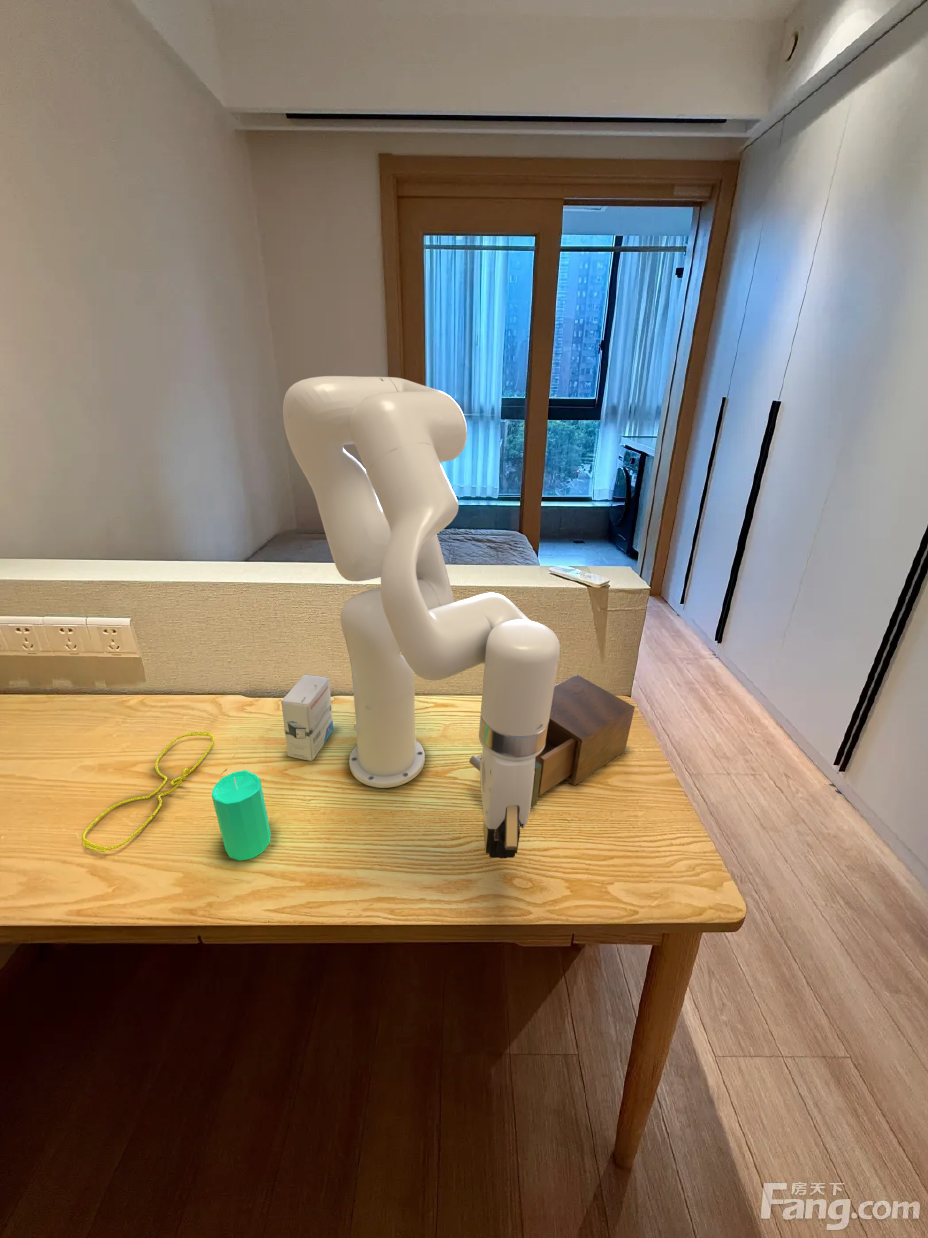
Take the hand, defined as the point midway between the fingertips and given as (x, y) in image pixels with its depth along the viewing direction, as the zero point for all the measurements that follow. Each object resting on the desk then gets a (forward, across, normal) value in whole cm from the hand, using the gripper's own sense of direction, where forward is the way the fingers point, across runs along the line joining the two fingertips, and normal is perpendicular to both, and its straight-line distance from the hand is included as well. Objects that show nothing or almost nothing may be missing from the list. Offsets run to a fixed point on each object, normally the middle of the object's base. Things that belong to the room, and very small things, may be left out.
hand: (499, 838), depth 66 cm
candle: (+8, -6, -34) cm, 36 cm away
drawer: (+6, -17, +6) cm, 20 cm away
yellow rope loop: (+8, -16, -51) cm, 54 cm away
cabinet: (+7, -25, +16) cm, 31 cm away
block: (0, 0, 0) cm, 0 cm away
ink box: (+8, -26, -30) cm, 41 cm away
